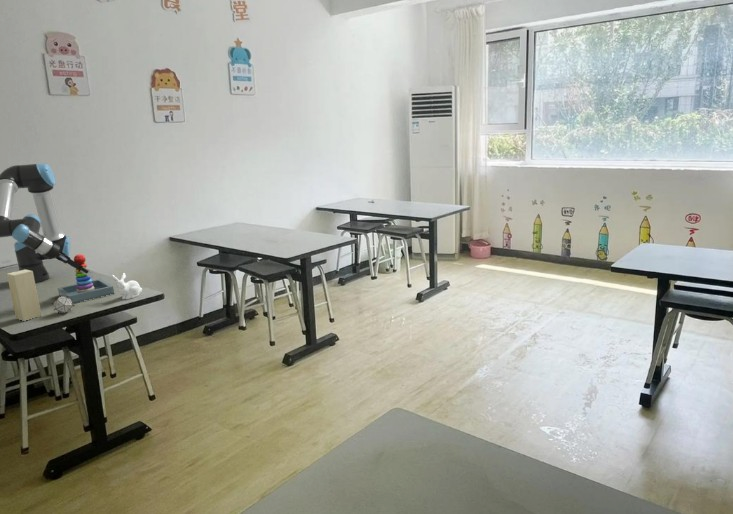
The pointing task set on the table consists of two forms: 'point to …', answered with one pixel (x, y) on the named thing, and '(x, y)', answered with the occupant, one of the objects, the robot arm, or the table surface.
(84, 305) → the table surface
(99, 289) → the tray
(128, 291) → the rabbit
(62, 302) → the game die
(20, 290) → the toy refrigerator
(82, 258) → the stacking toy
